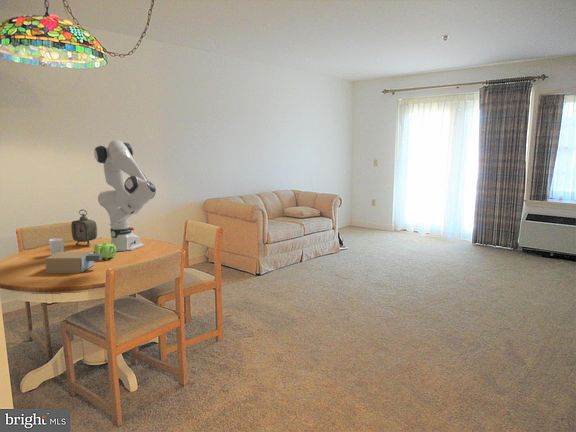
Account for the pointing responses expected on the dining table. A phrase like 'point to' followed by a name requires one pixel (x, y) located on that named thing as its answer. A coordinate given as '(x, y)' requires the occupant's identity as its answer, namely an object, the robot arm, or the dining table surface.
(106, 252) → the teapot
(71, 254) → the sleeve
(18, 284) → the dining table surface
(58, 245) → the white cup
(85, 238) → the tabletop clock
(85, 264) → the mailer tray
